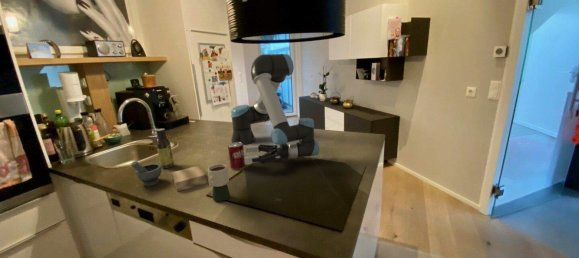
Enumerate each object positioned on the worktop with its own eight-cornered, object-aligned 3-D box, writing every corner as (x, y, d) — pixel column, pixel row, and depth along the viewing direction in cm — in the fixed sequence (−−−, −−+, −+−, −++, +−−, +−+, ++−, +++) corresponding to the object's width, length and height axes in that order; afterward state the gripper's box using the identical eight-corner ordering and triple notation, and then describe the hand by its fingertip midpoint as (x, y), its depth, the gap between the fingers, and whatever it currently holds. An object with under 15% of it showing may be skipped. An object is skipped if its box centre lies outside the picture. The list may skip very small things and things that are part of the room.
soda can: (227, 167, 118) (224, 145, 115) (239, 162, 124) (237, 141, 120) (236, 171, 114) (233, 148, 110) (248, 166, 119) (246, 143, 115)
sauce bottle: (175, 166, 122) (168, 129, 117) (161, 170, 119) (153, 132, 114) (173, 162, 128) (166, 127, 122) (160, 166, 124) (152, 129, 119)
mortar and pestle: (155, 175, 113) (150, 152, 110) (168, 179, 109) (163, 155, 106) (131, 186, 104) (124, 161, 101) (143, 191, 100) (137, 165, 96)
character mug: (222, 190, 98) (218, 160, 94) (237, 192, 95) (233, 162, 92) (204, 204, 88) (199, 172, 84) (221, 207, 85) (216, 174, 82)
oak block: (200, 173, 114) (199, 165, 113) (206, 182, 104) (205, 174, 103) (173, 180, 108) (171, 172, 107) (177, 191, 98) (175, 182, 97)
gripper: (292, 168, 109) (245, 173, 106) (285, 149, 132) (246, 152, 130) (291, 152, 106) (243, 157, 104) (284, 136, 130) (245, 139, 128)
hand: (245, 154), depth 117 cm, fingers open, 13 cm apart
